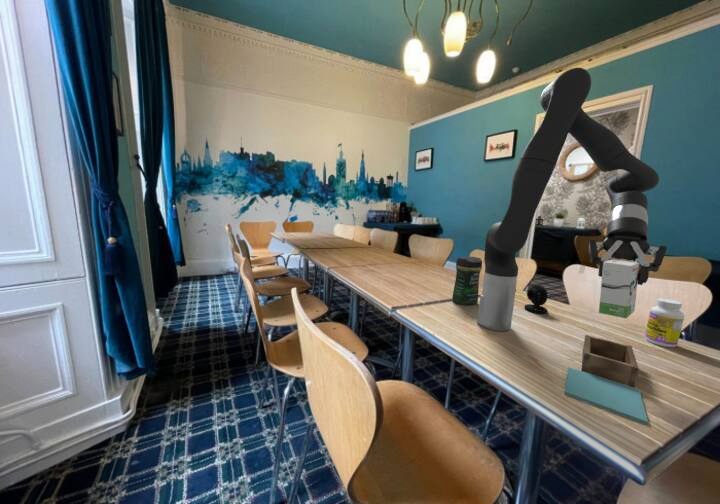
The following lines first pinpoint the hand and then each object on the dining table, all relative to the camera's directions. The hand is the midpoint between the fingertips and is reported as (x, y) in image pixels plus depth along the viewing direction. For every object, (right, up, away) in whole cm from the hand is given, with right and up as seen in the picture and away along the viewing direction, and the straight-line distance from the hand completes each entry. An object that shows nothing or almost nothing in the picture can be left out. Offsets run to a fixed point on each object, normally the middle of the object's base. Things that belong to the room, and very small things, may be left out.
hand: (621, 279), depth 64 cm
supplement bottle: (+28, -20, +18) cm, 39 cm away
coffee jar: (-18, -14, +48) cm, 53 cm away
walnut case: (0, -22, +4) cm, 22 cm away
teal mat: (-10, -23, -6) cm, 26 cm away
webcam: (+6, -16, +41) cm, 45 cm away
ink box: (-1, -8, +1) cm, 8 cm away
